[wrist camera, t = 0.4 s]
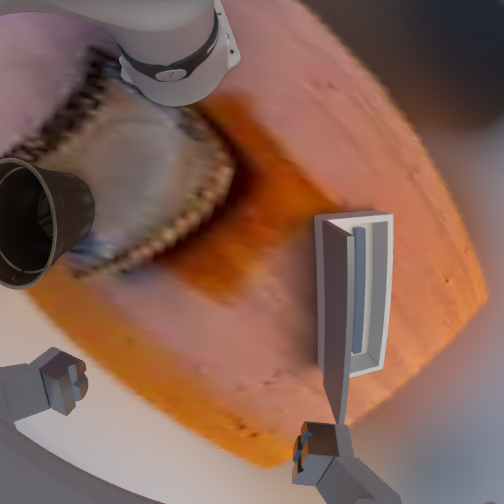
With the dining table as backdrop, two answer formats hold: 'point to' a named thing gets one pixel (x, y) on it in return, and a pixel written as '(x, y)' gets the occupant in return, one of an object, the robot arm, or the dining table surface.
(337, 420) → the plate
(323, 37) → the dining table surface
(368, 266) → the cable duct
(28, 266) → the plant pot
